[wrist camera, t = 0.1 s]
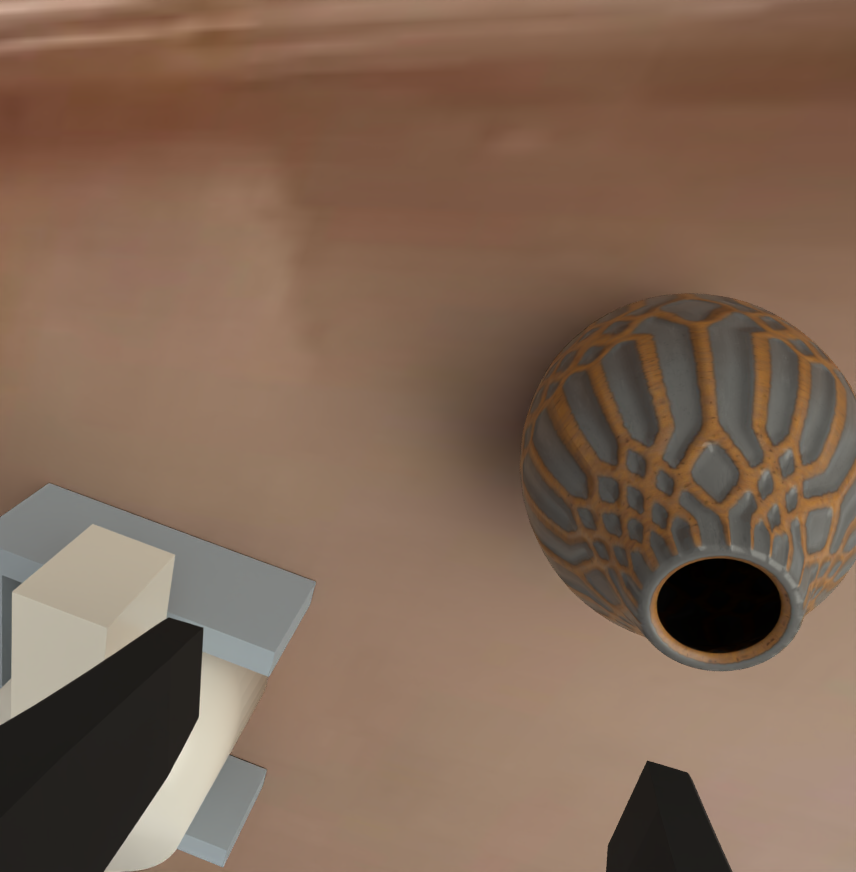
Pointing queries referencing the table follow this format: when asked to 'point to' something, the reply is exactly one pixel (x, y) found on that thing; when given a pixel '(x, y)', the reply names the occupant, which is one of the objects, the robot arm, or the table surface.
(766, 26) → the table surface
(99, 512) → the holder
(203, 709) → the cream egg with arms
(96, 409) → the table surface
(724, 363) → the vase
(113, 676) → the robot arm
